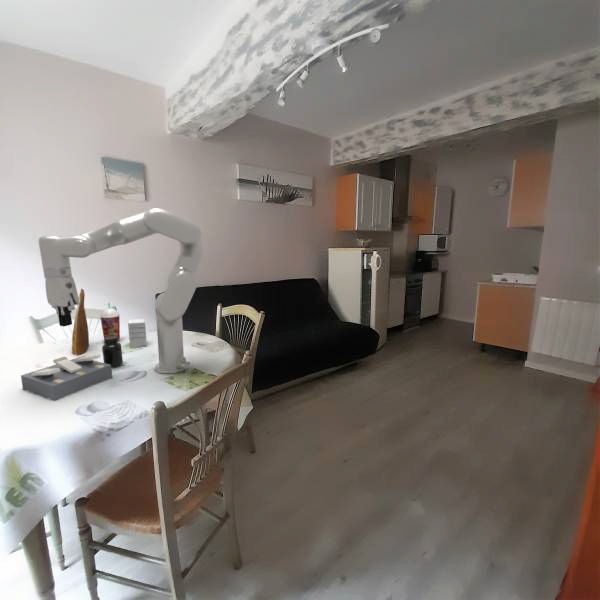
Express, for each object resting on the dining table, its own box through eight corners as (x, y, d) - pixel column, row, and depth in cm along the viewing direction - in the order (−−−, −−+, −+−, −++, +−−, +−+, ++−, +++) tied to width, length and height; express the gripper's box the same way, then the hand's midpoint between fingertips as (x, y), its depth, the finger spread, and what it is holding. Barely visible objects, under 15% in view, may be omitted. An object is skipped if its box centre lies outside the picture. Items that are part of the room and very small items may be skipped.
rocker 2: (81, 369, 115) (81, 366, 115) (71, 373, 112) (71, 370, 112) (63, 359, 119) (64, 356, 118) (53, 362, 115) (53, 359, 115)
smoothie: (119, 338, 168) (116, 300, 164) (123, 342, 162) (120, 303, 158) (101, 340, 163) (97, 302, 159) (104, 345, 156) (100, 305, 153)
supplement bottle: (117, 361, 138) (114, 334, 135) (126, 364, 134) (124, 337, 132) (100, 366, 132) (97, 338, 130) (109, 370, 129) (107, 341, 126)
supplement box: (129, 344, 159) (127, 319, 157) (146, 342, 163) (144, 318, 160) (129, 348, 153) (127, 323, 150) (147, 346, 156) (145, 321, 154)
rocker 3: (100, 357, 121) (99, 354, 121) (90, 360, 118) (89, 357, 118) (84, 358, 125) (83, 355, 125) (74, 361, 122) (73, 358, 122)
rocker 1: (60, 370, 108) (59, 367, 108) (48, 374, 105) (47, 371, 105) (43, 371, 113) (42, 368, 113) (32, 375, 109) (31, 372, 109)
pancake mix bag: (94, 342, 160) (88, 287, 154) (88, 355, 143) (81, 293, 138) (78, 344, 157) (72, 287, 152) (69, 357, 140) (62, 294, 135)
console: (112, 377, 122) (110, 363, 121) (54, 400, 104) (52, 384, 103) (81, 368, 129) (80, 355, 128) (22, 389, 111) (20, 373, 110)
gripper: (83, 272, 109) (91, 324, 113) (55, 270, 114) (63, 320, 118) (60, 275, 102) (69, 330, 106) (31, 273, 108) (40, 325, 111)
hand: (66, 325), depth 112 cm, fingers closed
